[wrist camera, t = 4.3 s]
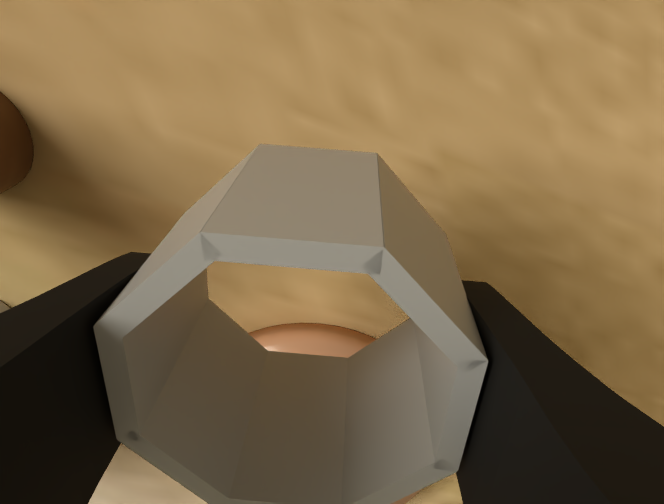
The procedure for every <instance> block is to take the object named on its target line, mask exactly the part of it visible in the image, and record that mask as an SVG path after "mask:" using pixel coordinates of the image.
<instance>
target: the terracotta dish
mask: <svg viewBox="0 0 664 504" xmlns="http://www.w3.org/2000/svg"><path fill="white" fill-rule="evenodd" d="M248 334H249V335H251V336H252V337H253V338H254V339H255V340H256V341H257V342H259V343H260V344H261V345H262V346H263V347H264V348H265V349H267V350H268V351H276V352H288V353H299V354H310V355H322V356H333V357H345V358H348V357H350V356H352V355H353V354H355V353H356V352H358V351H359V350H361V349H363V348H364V347H366V346H367V345H369V344H370V343H372V342H373V341H375V340H376V339H374V338H372V337H370V336H368V335H365V334H362V333H359V332H357V331H354V330H350V329H346V328H342V327H338V326H332V325H325V324H316V323H294V324H282V325H277V326H271V327H266V328H263V329H260V330H256V331H253V332H250V333H248ZM421 490H422V489H420V490H418V491H416V492H414V493H412V494H410V495H408V496H406V497H404V498H402V499H400V500H398V501H396V502H393V503H391V504H405V503H406V502H408V501H409V500H410V499H412V498H413V497H414V496H415V495H416V494H417V493H418V492H419V491H421Z"/></svg>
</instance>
